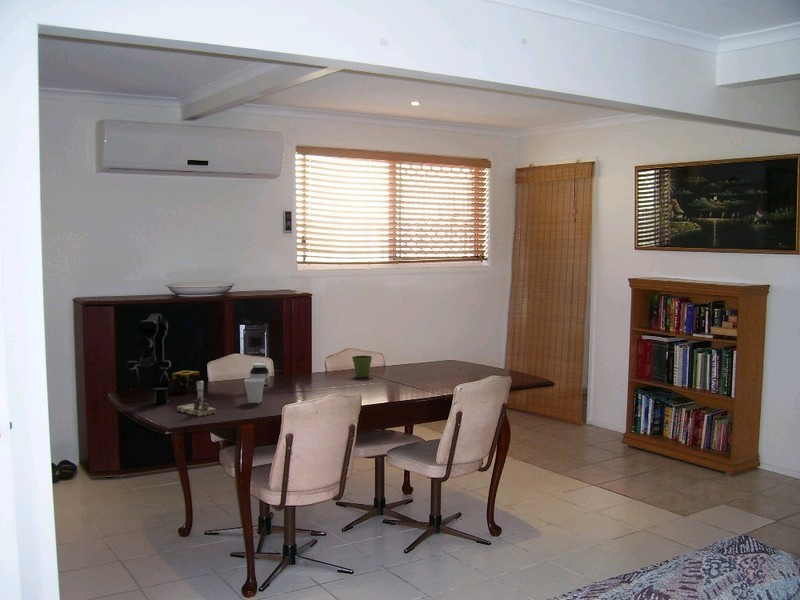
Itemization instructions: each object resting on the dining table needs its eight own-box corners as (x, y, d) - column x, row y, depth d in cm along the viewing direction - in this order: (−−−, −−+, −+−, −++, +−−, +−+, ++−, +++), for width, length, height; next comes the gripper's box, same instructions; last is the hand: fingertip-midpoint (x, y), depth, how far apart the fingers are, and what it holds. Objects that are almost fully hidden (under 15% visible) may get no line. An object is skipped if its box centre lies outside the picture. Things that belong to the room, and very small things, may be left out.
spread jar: (258, 387, 425) (258, 365, 424) (242, 385, 431) (242, 364, 430) (273, 384, 435) (273, 362, 434) (257, 382, 441) (257, 361, 440)
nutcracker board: (177, 410, 369) (177, 397, 369) (194, 407, 376) (193, 395, 376) (199, 416, 358) (199, 403, 357) (216, 413, 364) (216, 400, 364)
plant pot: (350, 375, 461) (350, 355, 460) (371, 374, 463) (370, 355, 462) (353, 378, 450) (353, 358, 449) (374, 378, 452) (374, 358, 451)
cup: (245, 400, 392) (245, 378, 391) (266, 400, 392) (265, 377, 391) (243, 404, 382) (242, 382, 381) (264, 404, 383) (263, 381, 382)
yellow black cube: (200, 390, 418) (200, 371, 418) (188, 393, 409) (187, 374, 408) (185, 388, 423) (184, 370, 422) (172, 392, 414) (171, 373, 413)
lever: (195, 405, 364) (195, 381, 363) (201, 404, 367) (200, 380, 366) (199, 406, 362) (199, 382, 361) (205, 405, 365) (204, 381, 364)
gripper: (122, 350, 349) (123, 386, 349) (166, 350, 351) (167, 385, 351) (128, 348, 360) (128, 383, 360) (170, 347, 362) (171, 382, 362)
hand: (148, 383), depth 358 cm, fingers open, 9 cm apart
